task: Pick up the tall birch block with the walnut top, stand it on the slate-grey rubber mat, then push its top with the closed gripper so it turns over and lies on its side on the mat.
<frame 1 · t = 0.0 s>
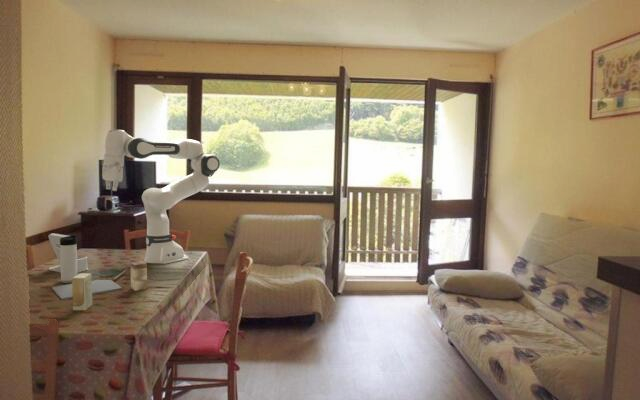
hand: (111, 190, 206), 39 cm above the table, tool pointing down, fingers open, 8 cm apart
birch block: (139, 288, 177), on the table
phone holder: (68, 270, 202), on the table
travel mug: (69, 281, 184), on the table
skincare box: (82, 308, 153), on the table
grey mat: (87, 288, 175), on the table
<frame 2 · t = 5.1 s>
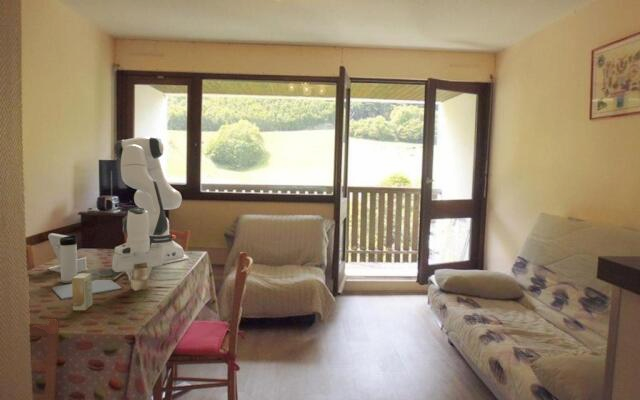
hand: (138, 278, 177), 4 cm above the table, tool pointing down, fingers closed on birch block, 5 cm apart
birch block: (139, 288, 177), on the table, touching gripper
everything else where it was.
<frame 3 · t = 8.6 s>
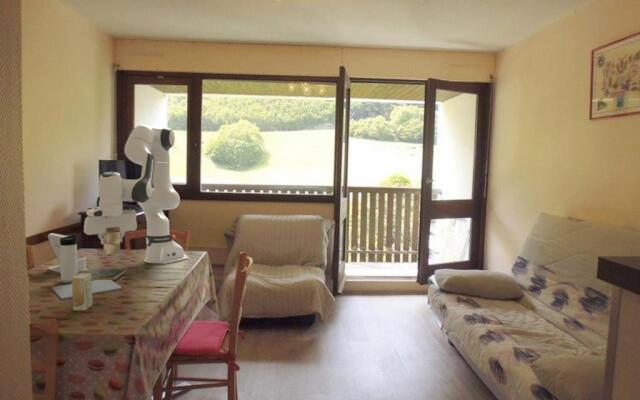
hand: (111, 243, 177), 19 cm above the table, tool pointing down, fingers closed on birch block, 5 cm apart
birch block: (112, 252, 177), point 15 cm above the table, touching gripper
everything else where it was.
when the fingers open (6 cm above the table, at t = 12.0 s): birch block stays where it is, resting on grey mat.
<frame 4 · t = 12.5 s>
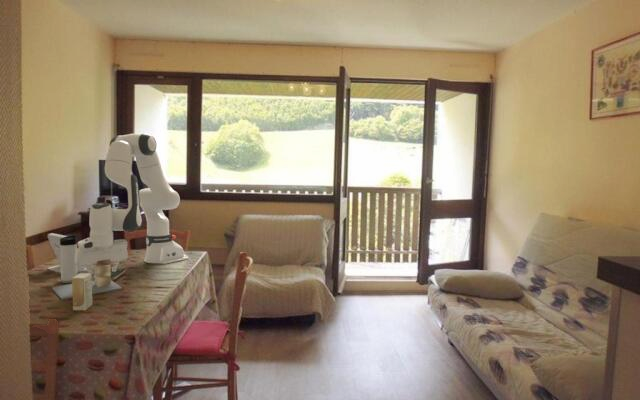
hand: (102, 273, 178), 6 cm above the table, tool pointing down, fingers open, 8 cm apart
birch block: (102, 284, 179), point 1 cm above the table, touching grey mat
everything else where it was.
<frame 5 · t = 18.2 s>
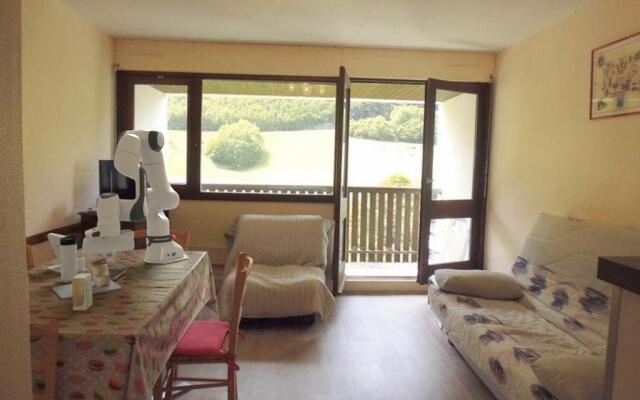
hand: (109, 262, 180), 10 cm above the table, tool pointing down, fingers closed
birch block: (102, 283, 179), point 1 cm above the table, tilted 8°, touching grey mat, gripper
everything else where it was.
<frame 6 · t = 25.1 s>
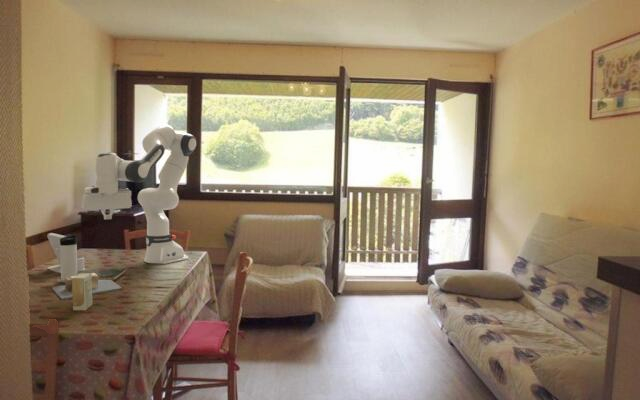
hand: (107, 219, 189), 27 cm above the table, tool pointing down, fingers closed
birch block: (96, 280, 177), point 3 cm above the table, tilted 90°, touching grey mat
at the end: birch block tilted 90°; birch block inside the target area on the grey mat (3.5 cm from its centre), point 3.1 cm above the grey mat's base; the gripper is holding nothing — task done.
